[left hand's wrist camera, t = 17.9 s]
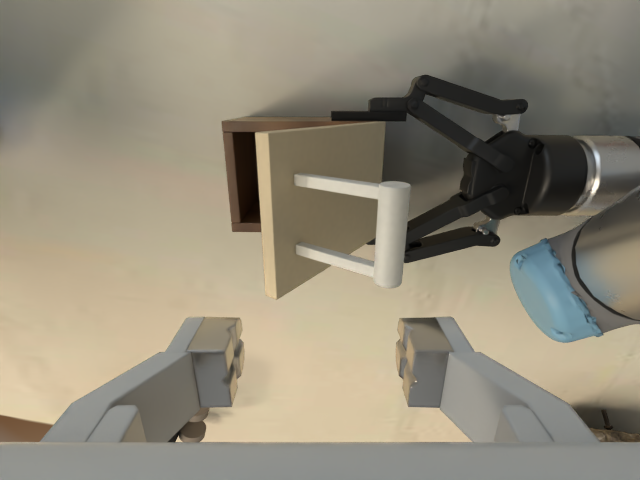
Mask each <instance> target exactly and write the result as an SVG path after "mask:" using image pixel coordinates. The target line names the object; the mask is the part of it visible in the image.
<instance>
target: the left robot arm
mask: <svg viewBox="0 0 640 480" xmlns="http://www.w3.org/2000/svg"><path fill="white" fill-rule="evenodd" d="M241 333H242V323H241V319H240V318H231V317H188V318H186V319H185V321H184V322H183V324H182V326H181V327H180V329H179V330H178V332H177V334H176V335H175V337H174V338H173V340H172V342H171V343H170V345H169V346H168V348H167V350H166V351H165V352H159V353H157V354H156V355H154V356H152V357H151V358H149V359H147V360H145V361H144V362H142V363H140V364H139V365H137V366H135V367H133V368H132V369H130V370H128V371H127V372H125V373H123V374H121V375H120V376H118V377H116V378H114V379H113V380H111V381H109V382H108V383H106V384H104V385H102V386H101V387H99V388H97V389H96V390H94V391H92V392H90V393H89V394H87V395H85V396H84V397H82V398H80V399H78V400H77V401H75V402H73V403H72V404H71V405H70V406H69V407H68V408H67V410H66V411H65V412H64V413H63V414H62V416H61V417H60V418H59V419H58V420H57V422H56V423H55V424H54V425H53V426H52V428H51V429H50V430H49V431H48V432H47V434H46V435H45V436H44V437H43V438H42V440H41V441H40V442H0V480H640V442H600V441H599V440H598V438H597V437H596V436H595V435H594V434H593V432H592V431H591V430H590V429H589V428H588V426H587V425H586V424H585V423H584V421H583V420H582V419H581V418H580V417H579V415H578V414H577V413H576V412H575V411H574V409H573V408H572V407H571V406H570V404H568V403H566V402H565V401H563V400H561V399H560V398H558V397H556V396H554V395H553V394H551V393H549V392H548V391H546V390H544V389H542V388H541V387H539V386H537V385H536V384H534V383H532V382H530V381H529V380H527V379H525V378H524V377H522V376H520V375H519V374H517V373H515V372H513V371H512V370H510V369H508V368H507V367H505V366H503V365H501V364H500V363H498V362H496V361H495V360H493V359H491V358H489V357H488V356H486V355H484V354H483V353H481V352H475V351H474V350H473V348H472V347H471V345H470V343H469V342H468V340H467V339H466V337H465V335H464V334H463V332H462V331H461V329H460V328H459V326H458V324H457V323H456V321H455V320H454V318H452V317H434V318H400V319H399V322H398V333H399V336H400V339H399V340H398V342H397V343H396V365H397V370H398V374H399V376H400V377H401V378H402V379H403V391H404V394H405V398H406V401H407V404H408V407H433V408H440V410H441V411H442V412H443V413H444V414H445V415H446V416H447V417H448V418H449V419H450V420H451V421H452V422H453V423H454V424H455V425H456V426H457V427H458V428H459V429H460V430H461V431H462V432H463V433H464V434H465V435H466V436H467V437H468V438H469V439H470V440H471V441H472V442H168V441H169V440H170V439H171V438H172V437H173V436H174V435H175V434H176V433H177V432H178V431H179V430H180V429H181V428H182V427H183V426H184V425H185V424H186V423H187V422H188V421H189V420H190V419H191V418H192V417H193V416H194V415H195V414H196V413H197V412H198V411H199V410H200V408H207V407H232V405H233V401H234V398H235V394H236V391H237V379H238V378H239V377H240V376H241V374H242V370H243V364H244V343H243V342H242V340H241V339H240V336H241Z"/></svg>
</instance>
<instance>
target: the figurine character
mask: <svg viewBox="0 0 640 480" xmlns="http://www.w3.org/2000/svg"><path fill="white" fill-rule="evenodd" d="M208 412H209V407H207V408H200V410H199V411H198V412H197V413H196V414H195V415H194V416H193V417H192V418H191V419H190V420H189V421H188V422H187V423H186V424H185V425H184V426H183V427H182V428H181V429H180V430H179V431H178V432H177V433H176V434H175V435H174V436H173V437H172V438H171V439H170V440H169V441H168V442H175V441H176V439H177V437H178V435H179V438H180V439H181V441H183V442H200V441H201V440H202V439H203V438H204V436H205V431H206V425H205V423H204V422H203V421H202V420H204V419H205V418H206V417H207V415H208Z"/></svg>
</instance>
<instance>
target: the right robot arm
mask: <svg viewBox="0 0 640 480" xmlns="http://www.w3.org/2000/svg"><path fill="white" fill-rule="evenodd" d="M425 95H429V96H432V97H435V98H438V99H441V100H444V101H447V102H450V103H453V104H456V105H459V106H462V107H465V108H468V109H471V110H474V111H477V112H481V113H485V114H493V116H492V119H493V121H494V122H495V123H498V124H500V125H501V126H502V128H503V130H502V131H501V132H499V133H498V134H496V135H494V136H493V137H491V138H490V139H488V140H487V141H485V142H484V141H482V140H481V139H479V138H477V137H475V136H474V135H472V134H471V133H469V132H468V131H466V130H465V129H463V128H462V127H460V126H459V125H457V124H456V123H454V122H453V121H451V120H450V119H448V118H447V117H445V116H444V115H442V114H441V113H439V112H438V111H436V110H435V109H433V108H432V107H430V106H429V105H427V104H426V103H424V102H423V99H424V97H425ZM527 108H528V103H527V101H526V100H524V99H506V100H500V99H497V98H494V97H491V96H488V95H485V94H482V93H479V92H476V91H473V90H470V89H467V88H464V87H461V86H458V85H455V84H453V83H450V82H447V81H444V80H441V79H438V78H435V77H432V76H429V75H422V76H418V77H415V78H414V79H413V80H412V83H411V87H410V90H409V92H408V94H407V95H406V96H405V97H402V98H373V99H370V100H369V101H368V111H331V121H406V115H407V113H409V114H410V115H412V116H413V117H415V118H416V119H418V120H419V121H421V122H422V123H424V124H425V125H427V126H428V127H430V128H431V129H433V130H434V131H436V132H438V133H439V134H441V135H442V136H444V137H445V138H447V139H448V140H450V141H451V142H453V143H454V144H456V145H457V146H458V147H459V148H461V149H462V150H464V151H466V152H467V153H469V154H468V156H467V158H464V163H463V169H464V175H463V178H462V180H461V183H460V190H461V191H462V192H460V193H458V194H456V195H454V196H452V197H451V198H450V200H448V201H447V202H445V203H443V204H441V205H439V206H437V207H435V208H433V209H431V210H429V211H427V212H425V213H424V214H422V215H420V216H418V217H416V218H414V219H412V220H410V221H408V222H407V232H406V243H405V253H404V263H409V262H413V261H417V260H421V259H425V258H429V257H433V256H437V255H441V254H445V253H449V252H453V251H457V250H461V249H464V248H468V247H472V246H491V247H494V246H497V245H498V244H499V243H500V238H499V237H498V236H497V235H496V234H497V230H498V226H499V222H500V220H501V219H504V218H506V217H508V216H512V215H537V216H557V215H561V214H562V215H565V216H593V217H591V218H590V219H588V220H587V221H585V222H584V223H582V224H581V225H579V226H578V227H576V228H574V229H572V230H570V231H568V232H566V233H563V234H561V235H558V236H556V237H553V238H550V239H547V238H545V239H543V240H541V241H540V243H538V244H536V245H533V246H531V247H529V248H526V249H524V250H522V251H519V252H518V253H516V254H515V255H514V256H513V257H512V260H511V262H510V275H511V279H512V283H513V285H514V288H515V290H516V293H517V295H518V297H519V299H520V301H521V303H522V305H523V307H524V308H525V310H526V312H527V313H528V315H529V316H530V318H531V319H532V321H533V322H534V323H535V324H536V326H537V327H538V328H539V329H540V330H541V331H542V332H543V333H544V334H546V335H547V336H548V337H549V338H551V339H553V340H555V341H558V342H563V343H568V342H573V341H576V340H580V339H584V338H587V337H591V336H596V337H600V336H602V335H603V333H605V332H608V331H611V330H614V329H617V328H620V327H624V326H628V325H633V324H640V136H638V137H631V136H573V137H571V136H567V135H524V134H522V133H521V132H519V131H518V128H519V121H520V114H522V113H524V112H525V111H526V110H527ZM478 211H481V212H483V213H484V214H485V215H487V216H486V218H485V220H483V221H481V222H476V223H474V226H473V227H463V228H459V229H455V230H451V231H447V232H443V233H439V234H436V235H432V236H428V237H424V236H426V235H428V234H430V233H432V232H434V231H436V230H438V229H439V228H441V227H443V226H445V225H447V224H449V223H451V222H453V221H455V220H457V219H459V218H461V217H468V216H470V215H472V214H474V213H476V212H478ZM422 237H424V238H422ZM375 243H376V238H374V239H372V240H371V241H369V242H368V243H366V244H368V245H375Z"/></svg>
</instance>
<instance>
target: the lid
mask: <svg viewBox="0 0 640 480" xmlns="http://www.w3.org/2000/svg"><path fill="white" fill-rule="evenodd" d="M385 124H386V122H365V123H354V124H343V125H331V126H320V127H309V128H298V129H287V130H276V131H264V132H256V133H255V139H256V154H257V169H258V185H259V200H260V216H261V231H262V247H263V262H264V277H265V293H266V296H269V297H271V298H274V299H276V300H277V299H279V298H280V297H282V296H284V295H285V294H287V293H288V292H290V291H292V290H293V289H295V288H296V287H298V286H299V285H301V284H303V283H304V282H306V281H307V280H309V279H311V278H312V277H314V276H315V275H317V274H318V273H320V272H322V271H323V270H325V269H326V268H328V267H330V266H331V265H333V266H336V267H340V268H343V269H346V270H349V271H353V272H356V273H359V274H362V275H366V276H369V277H372V278H373V281H374V283H375V284H376V285H378V286H380V287H383V288H396V287H398V286H400V285H401V283H402V274H403V263H404V253H405V243H406V232H407V222H408V212H409V202H410V191H411V185H410V184H408V183H405V182H399V181H387V182H382V170H383V155H384V140H385ZM374 238H376V243H375V259H374V261H370V260H366V259H363V258H359V257H356V256H352V255H349V254H350V253H352V252H353V251H355V250H357V249H358V248H360V247H361V246H363V245H365V244H366V243H368V242H369V241H371V240H372V239H374Z"/></svg>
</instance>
